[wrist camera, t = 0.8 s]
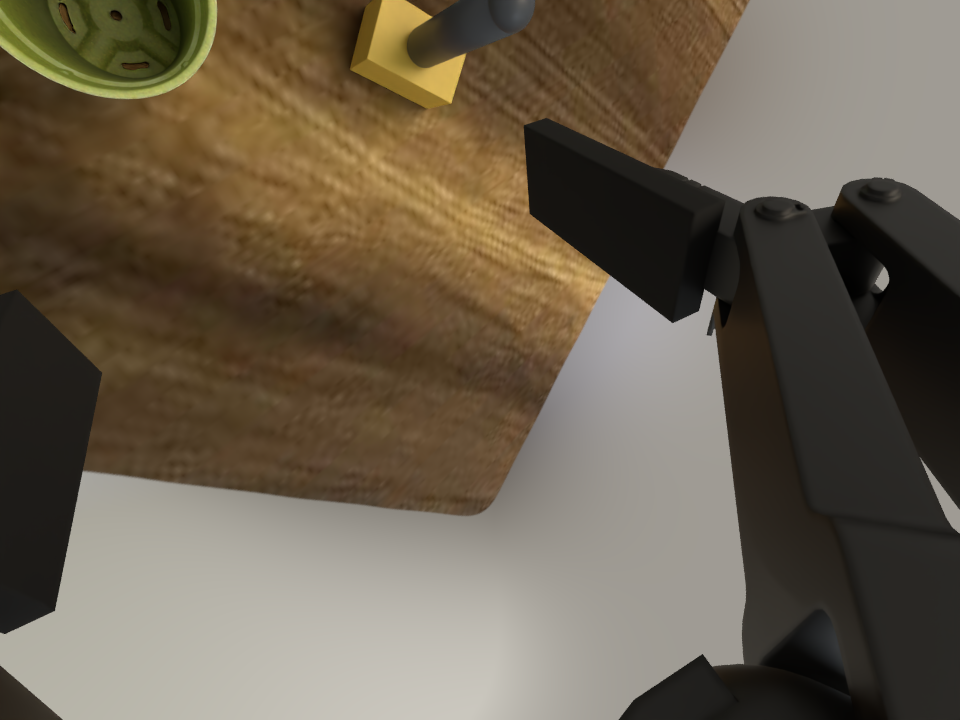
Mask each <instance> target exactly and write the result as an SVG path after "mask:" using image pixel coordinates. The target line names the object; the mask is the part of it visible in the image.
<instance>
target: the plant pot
mask: <svg viewBox="0 0 960 720" xmlns="http://www.w3.org/2000/svg"><path fill="white" fill-rule="evenodd" d="M158 1H160V2H161V3H163V5H164V6H165V7H166V9H167V11H168V16H169V19H170V22H171V29H170V30H169V31H168V30H166V29H165V27H164V22H163V18H162V14H161V12H160V10H159V8H158V6H157V2H158ZM59 3H64V4H65V5H66V7H67V11H68V14H69V17H70V20H71V23H72V24H73V26H74V27H73V28H74V29H75V31H76V33H73V32H71V31H70V30H69V29H68V27H67V26H66V24H65V23H64V21H63V19H62V17H61V15H60V12H59ZM113 10H116V11H118V12H120V13H121V15H122V19H121V20H120V21H119V20H118V21H116V20H114V19H113V18H112V17H111V15H110V13H111V11H113ZM216 25H217V1H216V0H0V46H1V47H2V48H3V49H4V50H6V51H7V52H8V53H9V54H10V55H12V56H13V57H14V58H16V59H17V60H19V61H20V62H22V63H23V64H25V65H26V66H28V67H29V68H31V69H33V70H34V71H36V72H38V73H39V74H41V75H43V76H45V77H47V78H49V79H50V80H52V81H55V82H57V83H59V84H62V85H64V86H66V87H69V88H71V89H74V90H77V91H80V92H83V93H87V94H91V95H95V96H99V97H105V98H113V99H141V98H147V97H153V96H157V95H160V94H163V93H166V92H168V91H171V90H173V89H175V88H177V87H178V86H180V85H182V84H183V83H184V82H186V81H187V80H188V79H190V78H191V77H192V76H193V75H194V74H195V73H196V72H197V70H198V69H199V68H200V67H201V65H202V64H203V62H204V61H205V59H206V57H207V55H208V54H209V51H210V49H211V47H212V43H213V40H214V36H215V32H216ZM142 62H147V63H149V64H150V65H149V67H148V68H142V69H141V68H139V69H137V70H128V69H124V68H123V67H122V63H142Z"/></svg>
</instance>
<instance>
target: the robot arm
mask: <svg viewBox="0 0 960 720" xmlns="http://www.w3.org/2000/svg"><path fill="white" fill-rule="evenodd" d="M524 136H525V151H526V165H527V180H528V194H529V209H530V214H531V215H532V216H533V217H535V218H536V219H537V220H539V221H540V222H541V223H543V224H544V225H545V226H546V227H548V228H549V229H550V230H552V231H553V232H554V233H556V234H557V235H558V236H560V237H561V238H562V239H563V240H565V241H566V242H567V243H569V244H570V245H571V246H573V247H574V248H575V249H577V250H578V251H579V252H580V253H582V254H583V255H584V256H586V257H587V258H588V259H590V260H591V261H592V262H594V263H595V264H596V265H597V266H599V267H600V268H601V269H603V270H604V271H605V272H607V273H608V274H609V275H610V276H612V277H613V278H614V279H616V280H617V281H618V282H620V283H621V284H622V285H624V286H625V287H626V288H627V289H629V290H630V291H631V292H633V293H634V294H635V295H637V296H638V297H639V298H641V299H642V300H644V301H645V302H646V303H647V304H648V305H650V306H651V307H652V308H654V309H655V310H656V311H658V312H659V313H660V314H662V315H663V316H664V317H665V318H667V319H668V320H669V321H671V322H672V323H674V322H676V321H678V320H680V319H683V318H685V317H687V316H689V315H691V314H693V313H695V312H698V311H699V308H700V304H701V300H702V296H703V292H704V289H705V290H707V291H708V292H710V293H712V294H713V295H714V296H716V301H715V305H714V309H713V312H712V316H711V320H710V323H709V327H708V332H707V335H710V336H711V335H712V333H713V329H716V338H717V347H718V355H719V363H720V372H721V380H722V388H723V396H724V405H725V414H726V422H727V430H728V439H729V447H730V455H731V464H732V472H733V481H734V489H735V497H736V505H737V514H738V522H739V531H740V539H741V546H742V547H741V548H742V556H743V564H744V572H745V581H746V603H745V609H744V616H743V623H742V625H743V626H742V644H743V657H744V664H735V665H721V666H714V667H712V666H711V665H710V664H709V662H708V661H707V660H706V658H705V657H704V655H703V654H702V655H701V656H699V657H697V658H696V659H695V660H693V661H692V662H690V663H689V664H687V665H686V666H684V667H683V668H681V669H679V670H678V671H677V672H675V673H674V674H672V675H671V676H669V677H668V678H666V679H665V680H663V681H662V682H660V683H659V684H657V685H656V686H654V687H653V688H651V689H650V690H648V691H647V692H645V693H644V694H642V695H641V696H639V697H638V698H636V699H635V700H633V702H632V703H631V704H630V706H629V707H628V708H627V710H626V711H625V712H624V713H623V715H622V716H621V717H620V719H619V720H960V533H958V532H957V531H956V530H955V529H953V528H952V527H951V525H950V523H949V522H948V520H947V518H946V517H945V514H944V512H943V510H942V508H941V505H940V503H939V501H938V498H937V496H936V494H935V492H934V489H933V487H932V485H931V482H930V480H929V478H928V475H927V473H926V471H925V468H924V466H923V464H922V462H921V459H922V460H923V462H924V463H925V464H926V466H927V467H928V468H929V470H930V471H931V472H932V474H933V475H934V476H935V478H936V479H937V480H938V482H939V483H940V484H941V486H942V487H943V488H944V490H945V491H946V492H947V494H948V495H949V496H950V497H951V499H952V500H953V501H954V503H955V504H956V505H957V507H958V508H959V509H960V220H959V219H957V218H956V217H954V216H953V215H951V214H950V213H949V212H947V211H946V210H944V209H943V208H942V207H940V206H938V205H937V204H936V203H934V202H933V201H932V200H930V199H929V198H927V197H926V196H925V195H923V194H922V193H920V192H919V191H917V190H916V189H914V188H912V187H910V186H908V185H906V184H903V183H900V182H896V181H894V180H893V179H888V178H884V179H882V178H872V179H860V180H855V181H851V182H849V183H847V184H845V185H843V187H842V189H841V191H840V194H839V196H838V199H837V201H836V204H835V206H832V207H826V208H820V209H814V210H811V209H810V208H809V207H808V206H807V205H805V204H803V203H801V202H799V201H796V200H792V199H788V198H783V197H761V198H755V199H753V200H749V201H747V202H746V203H742V202H740V201H737V200H735V199H733V198H731V197H729V196H726V195H724V194H722V193H720V192H718V191H715V190H713V189H711V188H709V187H706V186H701V184H700V183H698V182H696V181H693V180H688V178H687V177H684V176H682V175H680V174H678V173H676V172H673V171H669V170H665V169H660V168H654V167H651V166H649V165H647V164H645V163H643V162H640V161H638V160H636V159H634V158H632V157H630V156H628V155H625V154H623V153H621V152H619V151H617V150H615V149H612V148H610V147H608V146H606V145H604V144H602V143H600V142H597V141H595V140H593V139H591V138H589V137H587V136H584V135H582V134H580V133H578V132H576V131H574V130H571V129H569V128H567V127H565V126H563V125H561V124H559V123H556V122H554V121H552V120H550V119H548V118H545V119H542V120H539V121H536V122H533V123H530V124H527V125H524ZM883 267H885V268H886V270H887V271H888V275H889V284H888V285H887V287H886V288H885V289H884V291H882V290H880V289H879V288H878V287H877V286H876V284H875V282H876V280H877V278H878V276H879V274H880V272H881V270H882V269H883ZM101 376H102V372H101V371H100V370H99V369H98V368H97V367H96V366H95V365H94V364H93V363H92V362H91V361H89V360H88V359H87V358H86V357H85V356H84V355H83V354H82V353H81V352H80V351H79V350H78V349H77V348H76V347H75V346H74V345H73V344H72V343H71V342H70V341H69V340H68V339H67V338H66V337H65V336H64V335H63V334H62V333H61V332H60V331H59V330H58V329H57V328H56V327H55V326H54V325H53V324H52V323H51V322H50V321H49V320H48V319H47V318H46V317H45V316H44V315H42V314H41V313H40V312H39V311H38V310H37V309H36V308H35V307H34V306H33V305H32V304H31V303H30V302H29V301H28V300H27V299H26V298H25V297H24V296H23V295H22V294H21V293H20V292H19V291H18V290H14V291H11V292H8V293H5V294H2V295H0V633H4V634H6V633H8V632H10V631H12V630H15V629H17V628H19V627H21V626H23V625H25V624H28V623H30V622H32V621H34V620H36V619H38V618H40V617H43V616H45V615H47V614H49V613H51V612H53V611H55V607H56V602H57V597H58V592H59V587H60V582H61V577H62V572H63V567H64V562H65V557H66V552H67V547H68V542H69V536H70V532H71V527H72V522H73V517H74V512H75V507H76V502H77V497H78V491H79V486H80V482H81V477H82V472H83V466H84V461H85V456H86V451H87V446H88V441H89V436H90V431H91V426H92V421H93V416H94V411H95V406H96V401H97V396H98V391H99V386H100V381H101ZM920 458H921V459H920ZM0 720H62V719H61V718H60V717H59V716H58V715H57V714H55V713H54V712H53V711H52V710H51V709H50V708H49V707H47V706H46V705H45V704H44V703H43V702H41V700H39V699H38V698H37V697H36V696H35V695H33V694H32V693H31V692H30V691H29V690H28V689H27V688H25V687H24V686H23V685H22V684H21V683H20V682H19V681H17V680H16V679H15V678H14V677H13V676H11V675H10V674H9V673H8V672H7V671H6V670H5V669H4V668H2V667H1V666H0Z"/></svg>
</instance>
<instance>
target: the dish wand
mask: <svg viewBox="0 0 960 720" xmlns="http://www.w3.org/2000/svg"><path fill="white" fill-rule="evenodd" d="M534 8H535V0H459V1H458V2H456V3H454V4H453V5H451V6H450V7H448V8H446V9H445V10H443V11H442V12H440V13H439V14H437V15H435V16H434V17H431V16H430V15H428V14H426V13H425V12H423V11H422V10H420V9H419V8H417V7H415V6H414V5H412V4H411V3H409V2H407V1H406V0H372V1H371V2H370V3H369V4H368V5H367V6H366V7H365V11H364V15H363V19H362V23H361V27H360V31H359V35H358V39H357V43H356V47H355V51H354V55H353V59H352V63H351V67H350V70H352V71H354V72H356V73H358V74H360V75H361V76H363V77H365V78H367V79H369V80H371V81H373V82H375V83H377V84H379V85H381V86H383V87H385V88H387V89H389V90H391V91H393V92H395V93H397V94H399V95H401V96H403V97H405V98H407V99H409V100H411V101H413V102H415V103H417V104H419V105H421V106H422V107H424V108H426V109H428V108H433V107H437V106H442V105H446V104H451V103H452V99H453V96H454V93H455V89H456V86H457V83H458V79H459V76H460V73H461V69H462V66H463V63H464V59H465V56H466V53H468V52H470V51H472V50H475V49H477V48H480V47H482V46H485V45H487V44H490V43H492V42H495V41H497V40H500V39H502V38H505V37H507V36H510V35H512V34H515V33H517V32H519V31H521V30H522V29H524V28H525V27H526V26H527V24H528V23H529V21H530V20H531V18H532V15H533V12H534Z"/></svg>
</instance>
